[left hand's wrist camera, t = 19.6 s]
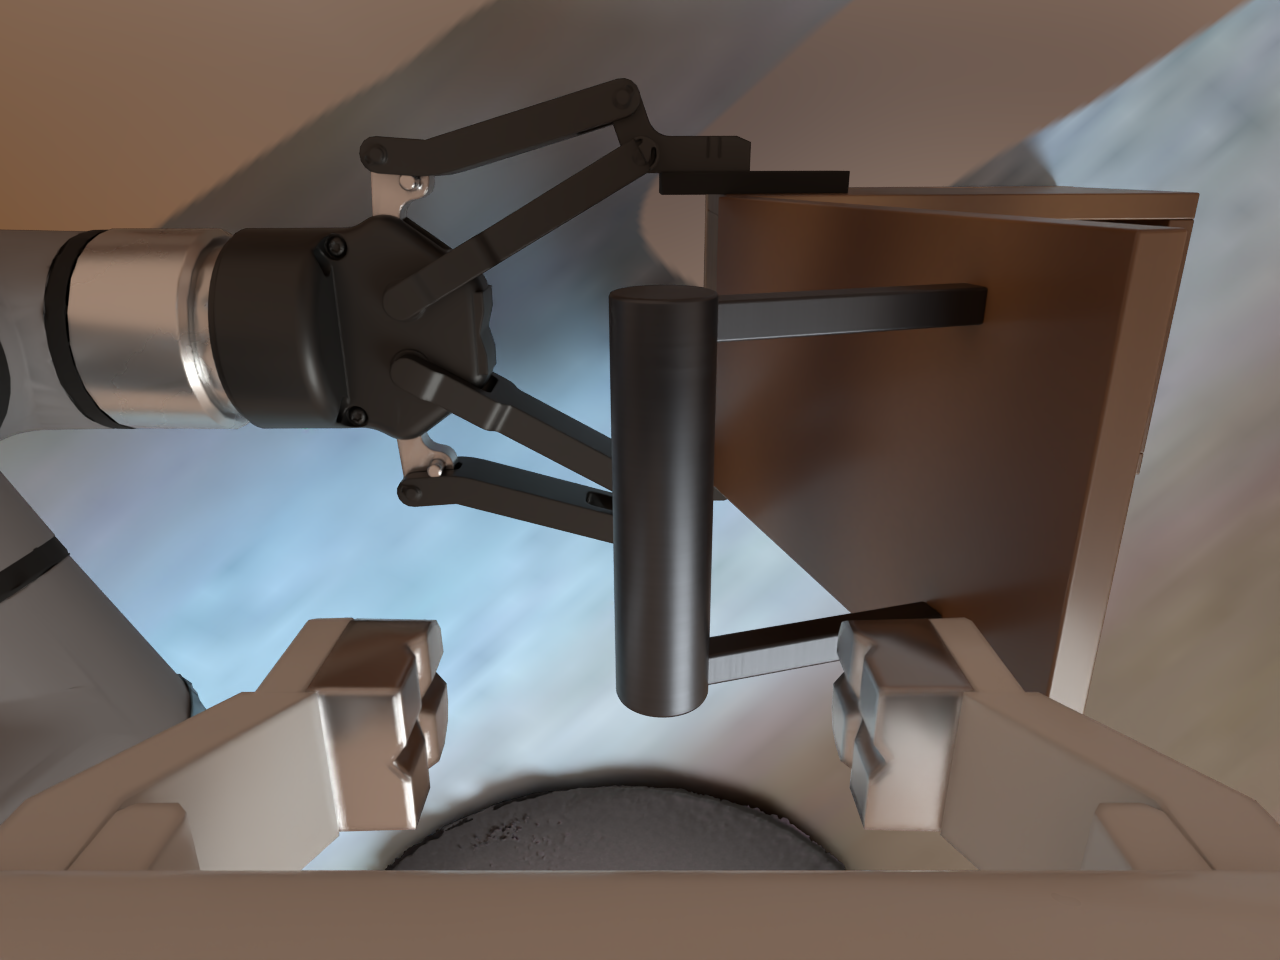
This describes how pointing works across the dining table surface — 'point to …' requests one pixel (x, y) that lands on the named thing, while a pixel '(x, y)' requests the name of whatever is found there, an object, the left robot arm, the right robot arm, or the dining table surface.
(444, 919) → the left robot arm
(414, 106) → the dining table surface
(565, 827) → the round grey tray
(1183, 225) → the chest
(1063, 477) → the lid
